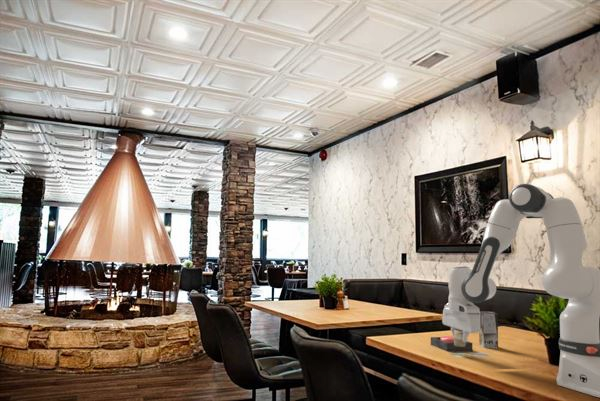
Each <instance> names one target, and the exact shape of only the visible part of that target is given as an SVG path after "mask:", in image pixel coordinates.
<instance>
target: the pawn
mask: <svg viewBox="0 0 600 401" xmlns="http://www.w3.org/2000/svg"><path fill="white" fill-rule="evenodd" d="M463 334H464V333H463V330H459V329H455V330H454V345H455V346H459V347H465V346H466V342H462V341H461V337H463Z"/></svg>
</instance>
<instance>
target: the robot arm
mask: <svg viewBox="0 0 600 401" xmlns="http://www.w3.org/2000/svg"><path fill="white" fill-rule="evenodd" d="M508 195H509V196H508V198H507V199H500V200H498V201H497V202H496V203H495V205H494V207H493V208H492V211H491V213H490V215H489V217H488V220H487V223H486V226H485V229H484V233H483V239H482V242H481V246H480V248H479V251H478V254H477V256H476V259H475V261H474V265H473V267H472V269H471V268H470V267H468V266H458V267H457V266H456V267H453V268H451V269H450V271H449V275H448V290H449V294H448V302H447V303H446V304H444V308H443V309H442V320H441V322H442V325H444V326H447V327H450V331H451V334H452V337H453V338H454V330H455V329H459V330H463V333H464V334H463V337H461V341H462V342H467V341H468V337H469V336H470V334H478V333H479V329H480V319H479V312H480V310H481V309H480V307H478V306H477V305H475V304H480V303H483V302H485V301H487V300H490V299H492V298H493V297H494V296H495V295H496V293H497V284H496V282H495V281H494V280H493V279H492V278H491V277H490V276H491V273H492V269H493V267H494V265H495V262H496V260H497V258H498V257H499V255H500V254H502V253H503V252H504V251H505V250H507V249H508V248H509V247H510V246H511V245H512V243H513V241H514V240H515V237H516V235H517V232H518V228H519V226H520V223H521V221H522V220H523V219H524V218H526V219H543V222H544V225H545V229H546V230H545V231H546V235H547V238H548V244H549V250H550V258H549V263H548V266H547V269H546V270H545V271H544V272H543V274H542V276H541V284H542V287H543V289H544V290H545V292H546V293H548V294H549V295H551V296H554V297H557V298H561V299H564V300H565V299H568V302H567V304H566V307H565V308H564V310H562V311H561V313H560V315H559V334H560V335H559V336H560V337H559V338H558V348H559V350H560V353H559V354H560V355H559V362H558V363H559V365H558V371H557V376H556V380H555V381H556V385H557V386H561V387H564V388H566V389H570V390H573V391H577V392H580V393H583V394H586V395H590V396H592V397H597V398H600V269H599V268H596V267H594V266H583V263H582V260H583V254H584V252H585V251H587V249H588V243H587V239H586V235H585V232H584V231H585V230H584V228H583V223H582V220H581V217H580V214H579V212H578V209H577V208H576V205H575V203H574V202H573V201H572V200H571V199H569V198H568V197H555V198H554V196H553V195H552V194H550V193H549V192H547V191H545V190H544V189H542V188H541V187H538V186H535V185H533V184H530V183H529V184H528V183H522V184H518V185H515V186H514V187H513V188H512V189H511V190H510V192H509V194H508Z"/></svg>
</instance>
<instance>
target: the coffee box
mask: <svg viewBox="0 0 600 401" xmlns="http://www.w3.org/2000/svg"><path fill="white" fill-rule="evenodd" d="M478 315H479V319H480V329H479V332H478V333H479V334H478V337H479V345H480V346H481V347H482V348H485V349H495V350H498V349H499V318H498V316H499V313H496V312H495V311H489V310H488V311H486V310H485V311H480V312H479V313H478Z"/></svg>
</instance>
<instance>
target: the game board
mask: <svg viewBox="0 0 600 401" xmlns="http://www.w3.org/2000/svg"><path fill="white" fill-rule="evenodd" d="M440 337H441V336H430V346H432V347H435V348H437V349H440V350H442V351H444V352H448V354H449V355H451V356H454V357H456V358H472V357H473V356H474V357H477V358H478V357H480V358H481V357H490V355H489V354H486V353H483V352H473V342H471V341H468V340H467V342H466V346H465V347H459V346H455V345H454V343H447V342H444V341H441V340H440ZM464 352H467V354H466V353H464ZM468 354H469V355H468ZM471 355H472V356H471Z"/></svg>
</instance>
